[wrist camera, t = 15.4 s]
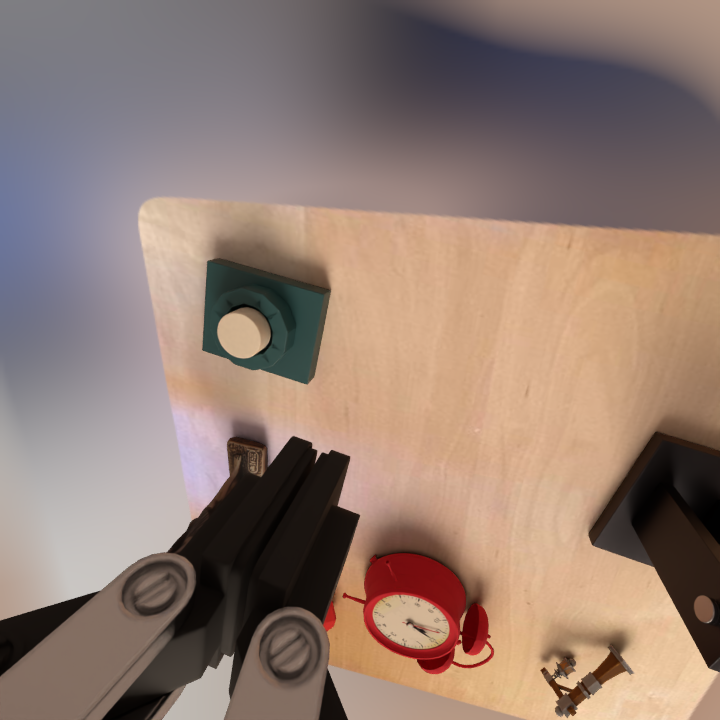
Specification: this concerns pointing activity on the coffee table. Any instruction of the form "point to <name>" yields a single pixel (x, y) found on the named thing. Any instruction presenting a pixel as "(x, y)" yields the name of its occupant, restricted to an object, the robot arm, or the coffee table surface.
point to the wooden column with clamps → (584, 681)
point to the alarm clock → (421, 611)
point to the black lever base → (673, 530)
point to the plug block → (268, 317)
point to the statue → (229, 481)
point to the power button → (244, 332)
